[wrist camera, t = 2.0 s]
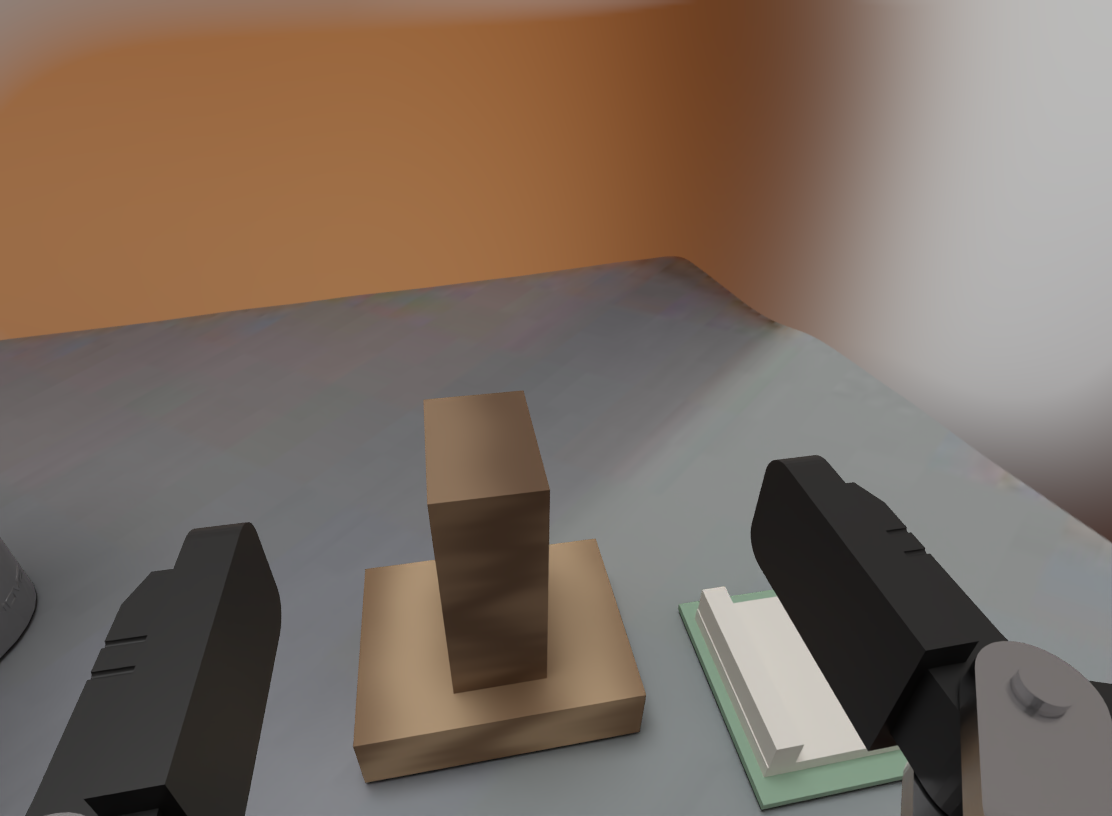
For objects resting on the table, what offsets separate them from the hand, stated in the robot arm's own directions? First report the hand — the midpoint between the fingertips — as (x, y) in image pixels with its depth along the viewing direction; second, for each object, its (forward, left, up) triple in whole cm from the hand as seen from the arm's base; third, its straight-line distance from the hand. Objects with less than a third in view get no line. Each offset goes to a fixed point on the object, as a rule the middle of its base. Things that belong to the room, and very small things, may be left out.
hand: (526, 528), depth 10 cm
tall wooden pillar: (0, +11, -18) cm, 21 cm away
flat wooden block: (0, +11, -21) cm, 24 cm away
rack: (+14, +8, -21) cm, 26 cm away
